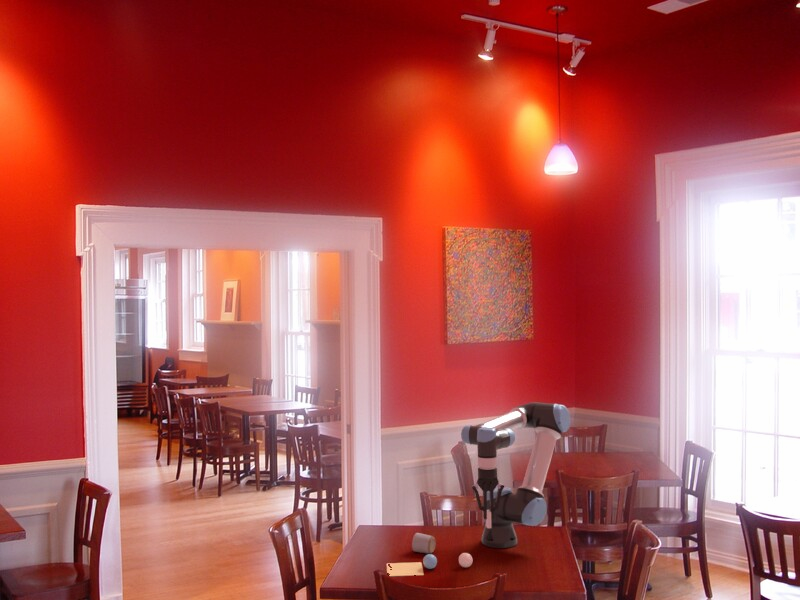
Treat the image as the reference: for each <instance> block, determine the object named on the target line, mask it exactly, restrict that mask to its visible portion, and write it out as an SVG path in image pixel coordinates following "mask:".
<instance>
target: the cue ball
mask: <svg viewBox="0 0 800 600" xmlns="http://www.w3.org/2000/svg"><path fill="white" fill-rule="evenodd" d="M458 564H459V565H460V566H461V567H462V568H469V567H471V566H472V564H473V557H472V555H471V554H470V553H469V552H462V553H461V554H460V555H459V556H458Z"/></svg>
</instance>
